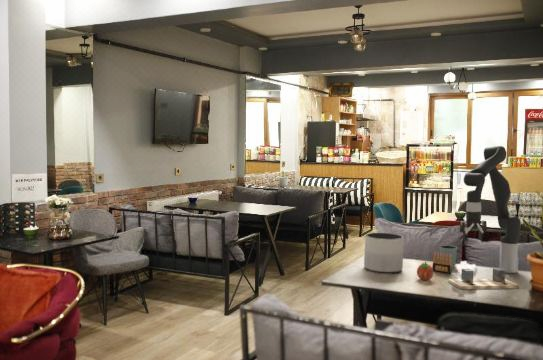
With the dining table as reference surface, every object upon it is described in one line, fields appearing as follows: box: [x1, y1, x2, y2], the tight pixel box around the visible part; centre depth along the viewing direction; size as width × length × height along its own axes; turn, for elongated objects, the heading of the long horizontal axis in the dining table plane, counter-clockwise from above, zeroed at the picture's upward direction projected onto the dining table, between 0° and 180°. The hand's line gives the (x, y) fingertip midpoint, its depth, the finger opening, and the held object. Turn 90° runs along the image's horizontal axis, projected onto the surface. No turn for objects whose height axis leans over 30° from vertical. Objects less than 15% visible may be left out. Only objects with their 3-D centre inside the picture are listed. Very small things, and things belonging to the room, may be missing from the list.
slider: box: [460, 268, 475, 283], centre depth 276 cm, size 4×8×6 cm, turn 8°
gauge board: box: [447, 267, 520, 290], centre depth 276 cm, size 32×14×8 cm, turn 98°
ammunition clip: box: [431, 251, 452, 275], centre depth 301 cm, size 11×2×12 cm, turn 55°
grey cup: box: [439, 244, 458, 269], centre depth 318 cm, size 10×10×12 cm
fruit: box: [416, 261, 434, 281], centre depth 284 cm, size 9×10×10 cm
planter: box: [363, 232, 404, 274], centre depth 306 cm, size 22×22×20 cm
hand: (473, 240), depth 282 cm, fingers open, 8 cm apart
